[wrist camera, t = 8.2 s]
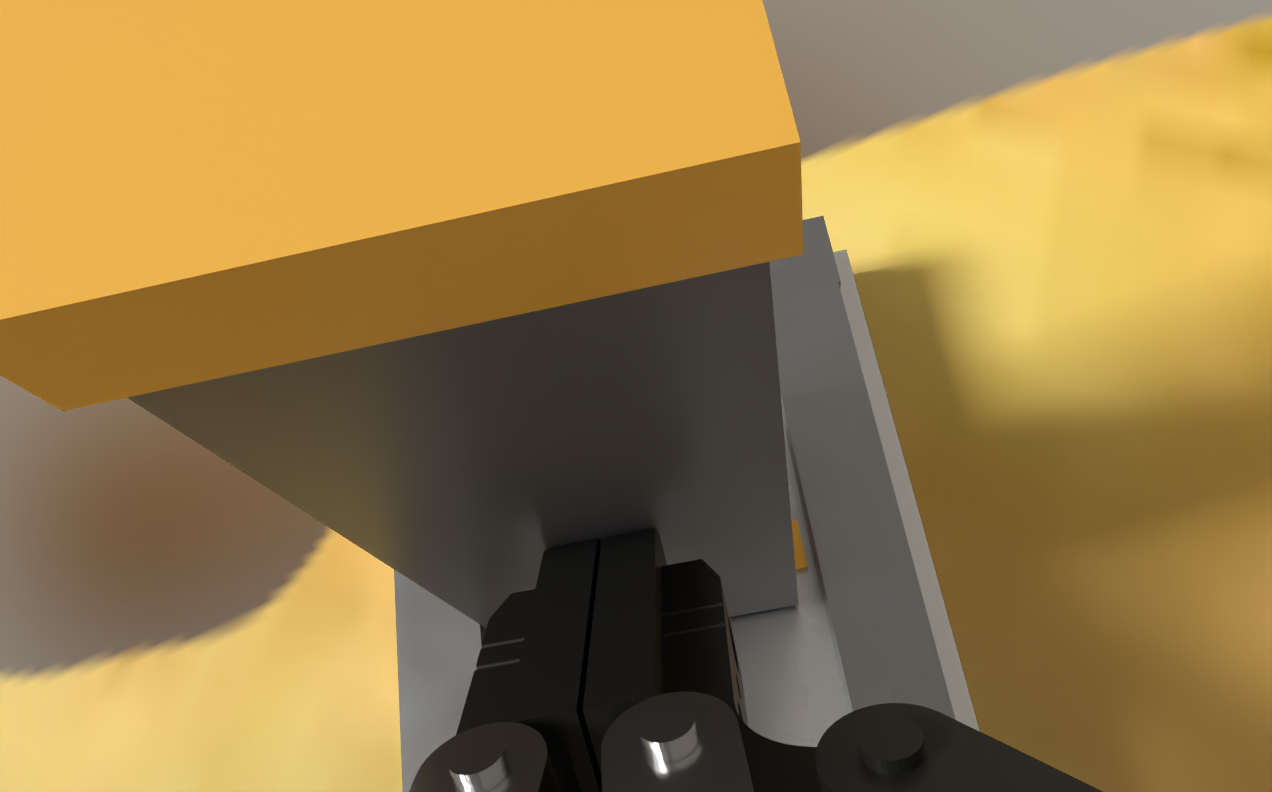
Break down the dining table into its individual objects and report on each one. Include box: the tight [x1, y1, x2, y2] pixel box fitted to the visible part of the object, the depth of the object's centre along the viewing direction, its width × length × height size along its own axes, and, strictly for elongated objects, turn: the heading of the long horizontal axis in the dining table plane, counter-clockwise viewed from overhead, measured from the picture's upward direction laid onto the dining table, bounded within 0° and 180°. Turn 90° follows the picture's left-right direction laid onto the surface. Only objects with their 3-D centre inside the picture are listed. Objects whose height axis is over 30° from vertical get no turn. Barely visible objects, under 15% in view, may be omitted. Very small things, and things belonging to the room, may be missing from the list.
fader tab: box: [0, 0, 803, 628], centre depth 13 cm, size 4×5×13 cm
